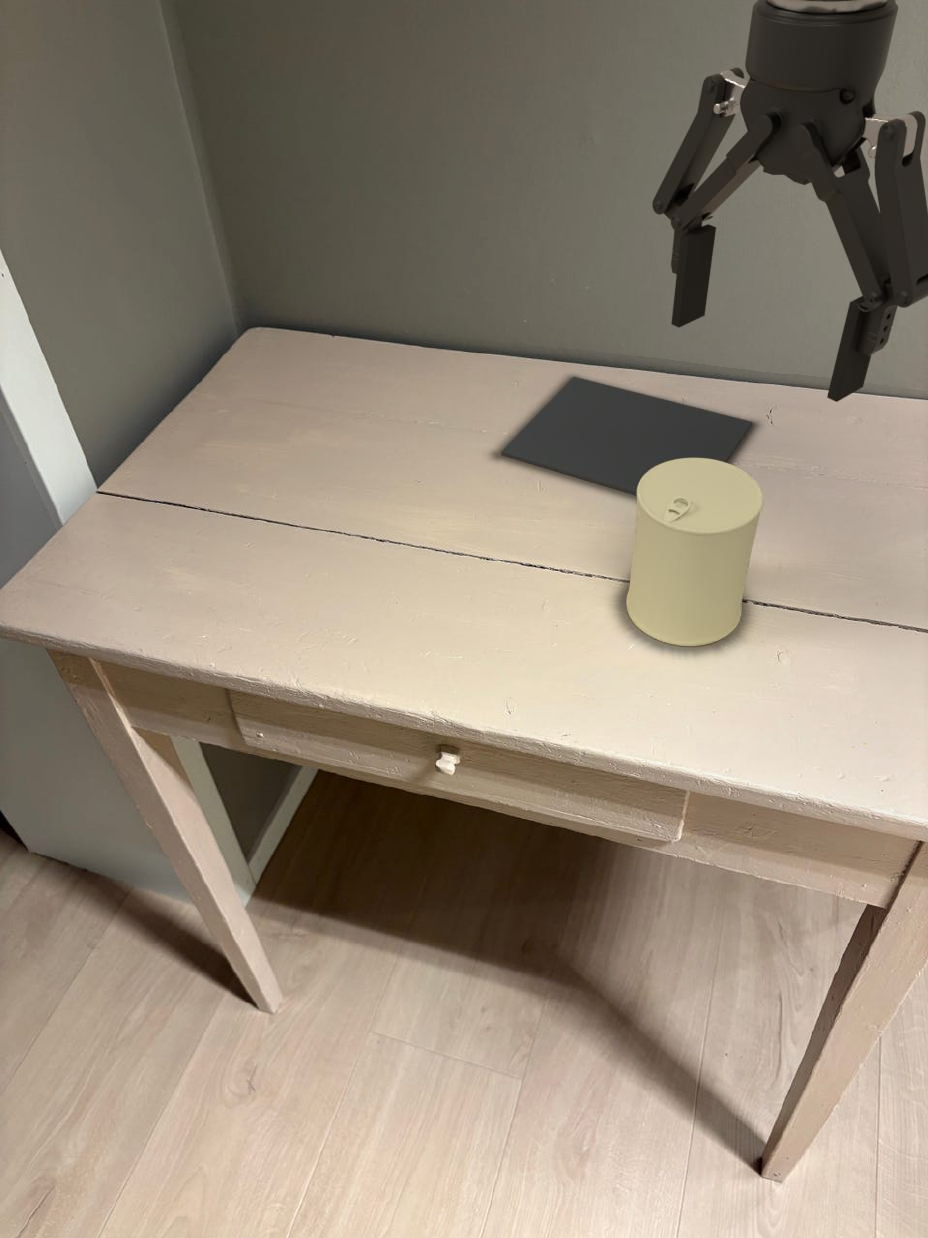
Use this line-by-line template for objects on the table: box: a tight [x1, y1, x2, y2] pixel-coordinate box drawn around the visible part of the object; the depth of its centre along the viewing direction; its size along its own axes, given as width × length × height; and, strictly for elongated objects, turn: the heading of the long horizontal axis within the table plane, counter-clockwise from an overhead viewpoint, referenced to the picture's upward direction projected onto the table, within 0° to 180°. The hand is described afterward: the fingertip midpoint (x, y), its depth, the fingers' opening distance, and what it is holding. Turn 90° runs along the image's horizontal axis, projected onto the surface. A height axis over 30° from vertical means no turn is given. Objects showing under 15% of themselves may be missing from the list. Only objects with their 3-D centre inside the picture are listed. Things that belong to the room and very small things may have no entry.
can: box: [625, 458, 765, 647], centre depth 74 cm, size 9×9×12 cm
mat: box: [500, 376, 753, 496], centre depth 96 cm, size 20×16×1 cm
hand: (761, 354), depth 66 cm, fingers open, 13 cm apart
